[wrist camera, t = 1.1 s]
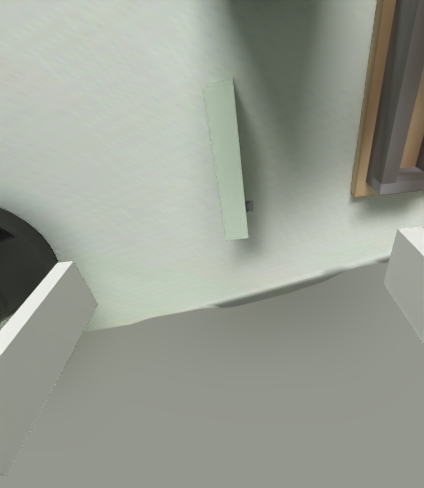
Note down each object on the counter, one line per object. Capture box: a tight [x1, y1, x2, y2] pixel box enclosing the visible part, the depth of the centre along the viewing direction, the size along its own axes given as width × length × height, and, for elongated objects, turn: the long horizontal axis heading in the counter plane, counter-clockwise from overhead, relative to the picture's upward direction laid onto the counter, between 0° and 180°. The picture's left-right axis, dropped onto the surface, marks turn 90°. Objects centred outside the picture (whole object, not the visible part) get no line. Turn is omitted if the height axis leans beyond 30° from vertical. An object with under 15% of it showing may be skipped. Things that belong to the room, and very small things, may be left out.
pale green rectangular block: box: [203, 79, 253, 240], centre depth 24 cm, size 3×12×7 cm, turn 9°
